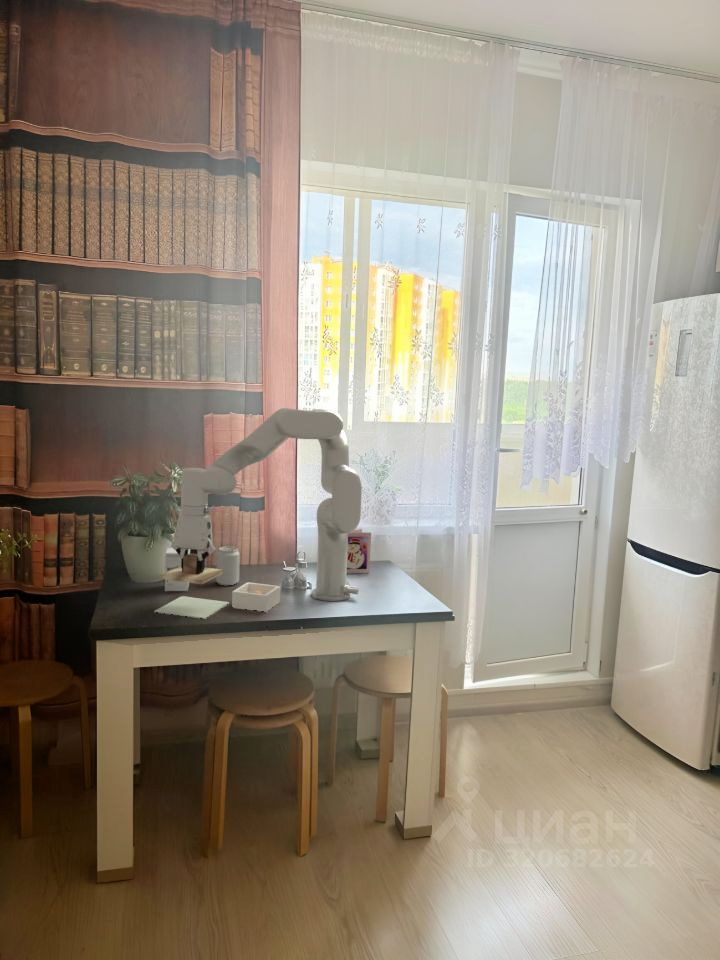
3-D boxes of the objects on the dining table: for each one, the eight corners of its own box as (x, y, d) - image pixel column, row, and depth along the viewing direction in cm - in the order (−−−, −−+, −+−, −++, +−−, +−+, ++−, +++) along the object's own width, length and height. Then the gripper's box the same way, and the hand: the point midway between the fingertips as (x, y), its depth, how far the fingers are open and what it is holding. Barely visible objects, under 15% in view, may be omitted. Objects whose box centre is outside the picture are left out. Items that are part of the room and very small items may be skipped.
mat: (229, 603, 222) (229, 602, 222) (204, 619, 207) (204, 617, 207) (181, 597, 226) (181, 596, 226) (154, 612, 211) (154, 610, 211)
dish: (280, 601, 226) (280, 586, 225) (266, 612, 216) (266, 595, 215) (247, 597, 229) (247, 582, 228) (232, 607, 218) (232, 591, 218)
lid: (222, 573, 220) (223, 553, 219) (202, 584, 207) (202, 562, 207) (183, 568, 223) (183, 548, 222) (161, 578, 211) (161, 557, 210)
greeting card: (338, 573, 262) (340, 532, 260) (335, 568, 270) (337, 528, 268) (369, 573, 265) (371, 533, 263) (365, 568, 272) (367, 528, 270)
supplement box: (164, 591, 231) (164, 552, 230) (166, 585, 239) (166, 547, 237) (188, 591, 233) (188, 552, 231) (189, 585, 240) (190, 547, 238)
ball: (264, 601, 223) (264, 589, 223) (259, 604, 220) (260, 592, 219) (253, 599, 224) (253, 588, 224) (248, 603, 221) (248, 591, 220)
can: (236, 587, 240) (237, 551, 239) (214, 585, 240) (214, 550, 239) (240, 580, 248) (241, 546, 246) (218, 579, 248) (219, 545, 246)
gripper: (226, 511, 214) (224, 572, 217) (174, 506, 219) (173, 565, 221) (214, 515, 207) (212, 578, 209) (161, 509, 211) (160, 571, 214)
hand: (192, 571), depth 215 cm, fingers closed on lid, 4 cm apart
